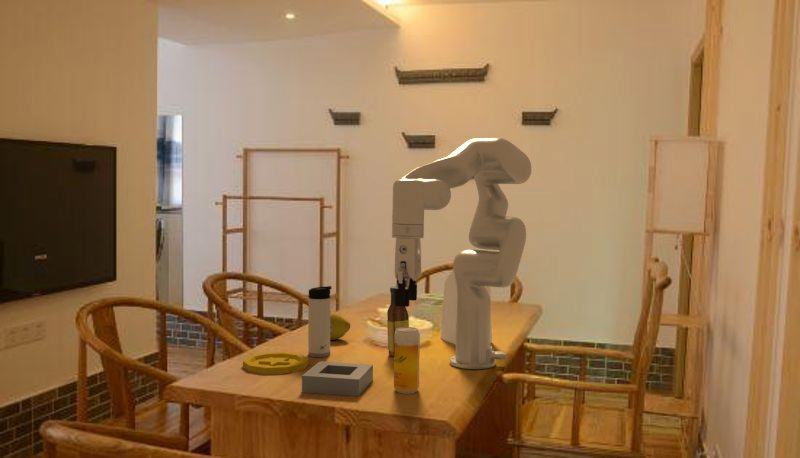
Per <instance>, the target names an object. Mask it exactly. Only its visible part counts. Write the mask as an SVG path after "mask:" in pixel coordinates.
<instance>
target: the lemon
mask: <svg viewBox="0 0 800 458" xmlns="http://www.w3.org/2000/svg"><path fill="white" fill-rule="evenodd" d="M350 328H351V322H349V321H348V320H346V319H345V317H344V316H343V317H342V316H340V315H337V314H335V313H334V314H332V313H330V341H334V340H338V339H341V338H342V337H344V336H345V335H346V334H347V332H349V331H350Z"/></svg>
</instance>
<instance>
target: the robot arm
mask: <svg viewBox="0 0 800 458" xmlns="http://www.w3.org/2000/svg"><path fill="white" fill-rule="evenodd" d="M531 175H532V163H531V160H530V159H529V157H528V155H527V154H525V152H523V151H522V150H521V149H520V148H519V147H518V146H516V145H515V144H513V142H511V141H509V140H507V139H505V138H501V137H489V138H488V137H486V138H485V137H484V138H482V137H481V138H471V139H469V140H467V141H465V142H464V143H462V144H461V145H460V146H459V147H458V148H456V149H455V150H454V151H452V152H451V153H450V154H448V155H446V157H443V158H441V159H437V160H435V161H432V162H430V163H426V164H424V165H421V166H418V167H416V168H414V169H412V170H411V171H409V172H407V174H405V175H403V176H402V178H400V179H397V180H395V181H394V182H393V185H392V213H391V214H392V216H391V218H392V219H391V222H392V223H391V224H392V225H391V237H392V238H393V239H394V238H395V248H394V249H395V252H394V277H395V279H396V283H395V286H396V300H395V305H396V306H402V307H406V308H407V307H410V301H415V302H416V301H417V299H418V283H417V282H418V279H419V278H420V277H421V276H422V245H421V244H422V243H421V242H422V241H421V239H424V237H425V235H424V233H425V231H424V229H425V228H424V227H425V226H424V225H425V211H438V210H442V209H444V208H446V207H447V206H448V205H449V204H450V201H451V198H452V193H451V189H455V188H458V187H461V186H464V185H465V184H467V183H469V181H470V180H472V179H473V178H474V182H475V186H476V189H477V192H478V193H477V194H478V202H477V206H476V210H475V212H474V216H473V219H472V222H471V225H470V228H469V233H468V242H469V243H470V245H471V246H473V247H474V248H477V249H465V250H461V251H460V252H458V253H457V254H456V255H455V257H454V258H453V261H452V262H453V263H452V269H453V270H452V271H453V272H454V278H455V284H456V345H455V355H453V356H452V357H450V358H449V364H450V365H451V366H452V367H456V368H459V369H467V370H485V369H491V368H493V367H495V365H496V362H497V361H496V360H499V361H507V353H506V352H503V351H494V350H493V346H492V345H491V343H490V327H491V328H492V302H491V300H490V296H489V294H488V292H487V290H486V288H485V286H490V288H491V287H492V288H502V289H503V288H508V287H510V286H512V284H513V283H514V281H515V279H516V277H517V274H518V271H519V267H520V264H521V260H522V256H523V253H524V249H525V245H526V241H527V230H526V229H527V227H526V225H525V222H524V221H523V220H522V219H520V218H519V217H516V216H511V215H509V216H507V212H508V209H509V202H508V199H507V196H506V195H505V193H504V191H503V190H502V187H500V184H501V185H521V184H525V183H526V182H528V180H529V179H530V177H531Z"/></svg>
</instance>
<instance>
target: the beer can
mask: <svg viewBox="0 0 800 458" xmlns="http://www.w3.org/2000/svg"><path fill="white" fill-rule="evenodd" d="M420 340H421V335H420V331H419V328H418V327H411V326H409V327H400V328H397V329H396V331H395V334H394V357H393V388H394V390H395V392H397V393H399V394H405V395H406V394H407V395H409V394H415V393H417V391H418V390H419V389H420V358H421V357H420V351H421V350H420V349H421V348H420V346H421V341H420Z"/></svg>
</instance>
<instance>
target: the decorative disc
mask: <svg viewBox="0 0 800 458" xmlns="http://www.w3.org/2000/svg"><path fill="white" fill-rule="evenodd" d="M308 365H309V358H308V357H307V356H305V355H303V354H302V353H296V352H295V353H294V352H287V351H279V352H278V351H274V352H271V351H270V352H262V353H257V354H252V355H248V356H247V357H245V359H243V360H242V368H244V370H246V371H248V372H249V373H250V372H251V373H255V374H256V373H257V374H263V375H278V373H281V374H290V372H291V373H294V371H295V372H298V370H299V371H302V370H305V368H307V366H308Z"/></svg>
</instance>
